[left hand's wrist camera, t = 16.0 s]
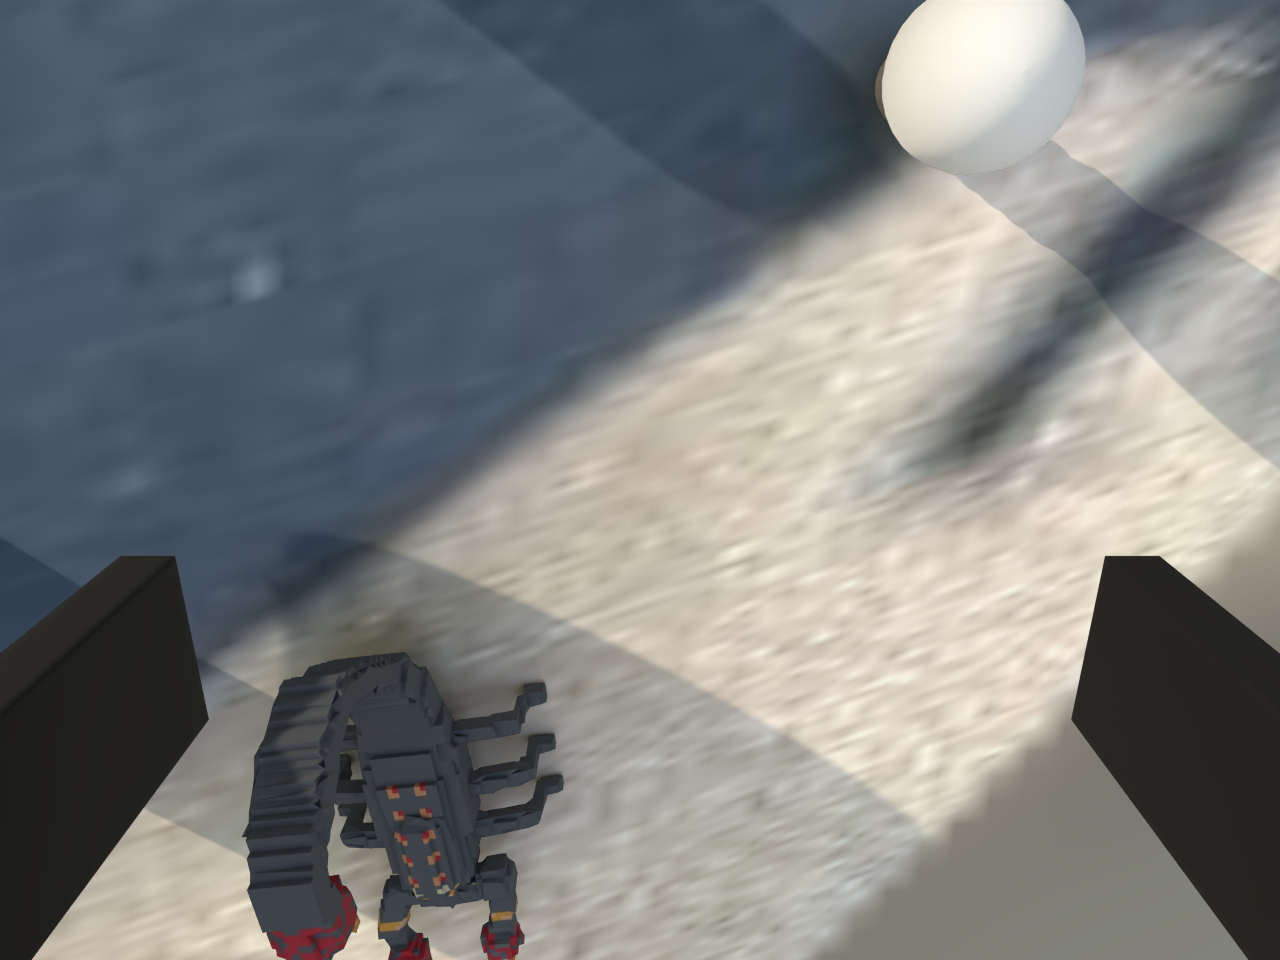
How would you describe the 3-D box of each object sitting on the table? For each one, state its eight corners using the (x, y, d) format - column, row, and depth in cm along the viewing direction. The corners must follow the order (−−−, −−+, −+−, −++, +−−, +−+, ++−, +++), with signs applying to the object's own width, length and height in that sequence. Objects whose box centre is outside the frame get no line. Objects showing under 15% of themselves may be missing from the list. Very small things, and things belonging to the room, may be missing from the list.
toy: (517, 538, 47) (447, 767, 30) (589, 919, 57) (567, 1258, 40) (269, 566, 48) (62, 807, 31) (382, 938, 57) (272, 1281, 40)
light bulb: (820, 132, 40) (883, 131, 30) (892, -28, 38) (987, -88, 27) (953, 192, 41) (1058, 212, 31) (1031, 40, 39) (1173, 7, 28)
